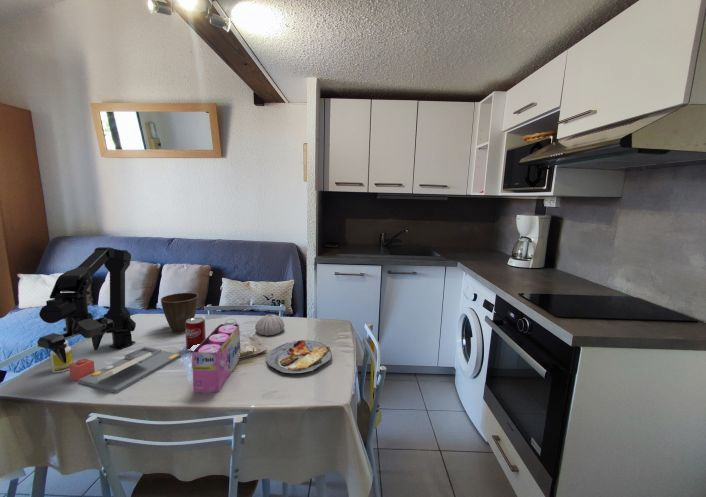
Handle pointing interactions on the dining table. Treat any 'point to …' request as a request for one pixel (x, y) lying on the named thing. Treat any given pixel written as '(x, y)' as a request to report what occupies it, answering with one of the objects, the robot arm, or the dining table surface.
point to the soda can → (195, 331)
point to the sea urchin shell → (269, 325)
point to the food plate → (299, 356)
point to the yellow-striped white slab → (123, 366)
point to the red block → (81, 369)
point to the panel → (129, 372)
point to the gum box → (216, 358)
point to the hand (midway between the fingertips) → (81, 356)
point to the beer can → (230, 322)
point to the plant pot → (179, 309)
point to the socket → (131, 355)
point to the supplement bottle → (58, 364)
